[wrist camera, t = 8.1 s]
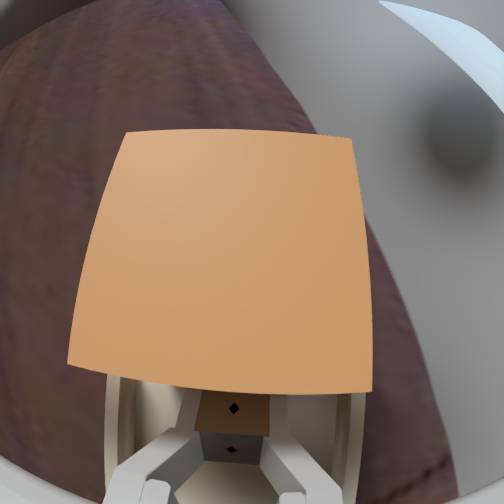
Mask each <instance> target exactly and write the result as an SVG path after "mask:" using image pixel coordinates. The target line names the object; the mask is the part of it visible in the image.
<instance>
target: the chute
mask: <svg viewBox="0 0 504 504" xmlns="http://www.w3.org/2000/svg"><path fill="white" fill-rule="evenodd" d="M186 388H187V387H179V386H172V385H165V384H159V383H153V382H147V381H141V380H136V379H130V378H125V377H120V376H115V375H111V374H107V387H106V403H105V435H104V454H105V485H106V492H107V489H108V486H109V484H110V481H111V478H112V475H113V472H114V470H115V468H116V467H117V466H119V465H120V464H121V463H123V462H124V461H126V460H127V459H128V458H130V457H131V456H133V455H134V454H135V453H137V452H138V451H139V450H141V449H142V448H143V447H145V446H146V445H147V444H149V443H150V442H151V441H153V440H154V439H155V438H157V437H158V436H159V435H161V434H162V433H163V432H164V431H166V430H167V429H168V428H170V427H172V428H175V425H176V421H177V418H178V414H179V410H180V407H181V403H182V400H183V396H184V392H185V390H186ZM286 396H287V409H288V426H289V437H294V438H295V439H296V440H297V441H298V442H299V443H300V444H301V446H302V447H303V448H304V449H305V450H306V451H307V452H308V453H309V455H310V456H311V457H312V458H313V459H314V460H315V461H316V462H317V463H318V464H319V466H320V467H321V468H322V469H323V470H324V471H325V472H326V473H327V474H328V475H329V476H330V477H331V478H332V479H333V480H334V481H335V483H336V484H337V485H338V486H339V487H340V488H341V491H342V499H343V504H355V500H356V493H357V486H358V479H359V471H360V463H361V454H362V443H363V431H364V417H365V398H366V392H361V393H344V394H311V395H290V394H286ZM174 494H175V496H176V498H177V500H178V502H179V504H277V502H278V499H279V497H280V496H279V495H278V494H277V492H276V491H275V489H274V488H273V486H272V485H271V483H270V482H269V480H268V479H267V477H266V476H265V474H264V473H263V471H262V470H261V468H260V467H259V465H251V464H238V463H226V462H213V461H204V463H203V464H202V465H201V466H200V467H199V468H198V469H197V470H196V471H195V472H194V474H193V475H192V476H191V477H190V478H189V479H188V480H187V481H186V482H185V483H184V484H183V485H182V486H181V487H180V488H179V489H178V490H177V491H176V492H175V493H174Z"/></svg>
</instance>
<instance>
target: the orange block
mask: <svg viewBox="0 0 504 504" xmlns="http://www.w3.org/2000/svg"><path fill="white" fill-rule="evenodd" d="M372 362H373V344H372V306H371V288H370V273H369V260H368V250H367V240H366V230H365V222H364V214H363V206H362V199H361V192H360V186H359V180H358V174H357V168H356V162H355V156H354V151H353V146H352V141H351V139H350V138H342V137H334V136H324V135H316V134H305V133H294V132H280V131H263V130H236V129H185V130H159V131H142V132H129V133H126V135H125V137H124V140H123V142H122V145H121V147H120V150H119V152H118V155H117V157H116V160H115V163H114V165H113V168H112V171H111V173H110V176H109V179H108V182H107V185H106V188H105V191H104V194H103V197H102V200H101V203H100V206H99V210H98V213H97V216H96V220H95V223H94V227H93V230H92V234H91V237H90V241H89V245H88V249H87V253H86V257H85V261H84V265H83V270H82V274H81V279H80V284H79V289H78V294H77V299H76V304H75V310H74V316H73V322H72V329H71V336H70V344H69V352H68V362H67V364H70V365H73V366H77V367H81V368H85V369H89V370H93V371H97V372H102V373H106V374H111V375H115V376H120V377H125V378H130V379H136V380H141V381H147V382H153V383H159V384H165V385H172V386H179V387H187V388H195V389H204V390H214V391H226V392H239V393H257V394H290V395H311V394H344V393H361V392H372Z"/></svg>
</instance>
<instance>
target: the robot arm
mask: <svg viewBox="0 0 504 504" xmlns="http://www.w3.org/2000/svg"><path fill="white" fill-rule="evenodd" d="M204 461H213V462H226V463H238V464H251V465H259V467H260V468H261V470H262V471H263V473H264V474H265V476H266V477H267V479H268V480H269V482H270V483H271V485H272V486H273V488H274V489H275V491H276V492H277V494H278V495H279V496H280V497H279V499H278V502H277V504H343V499H342V491H341V488H340V487H339V486H338V485H337V484H336V483H335V481H334V480H333V479H332V478H331V477H330V476H329V475H328V474H327V473H326V472H325V471H324V470H323V469H322V468H321V467H320V466H319V464H318V463H317V462H316V461H315V460H314V459H313V458H312V457H311V456H310V455H309V453H308V452H307V451H306V450H305V449H304V448H303V447H302V446H301V444H300V443H299V442H298V441H297V440H296V439H295V438H294V437H289V426H288V409H287V396H286V394H257V393H239V392H226V391H214V390H204V389H195V388H186V390H185V392H184V396H183V400H182V403H181V407H180V410H179V414H178V418H177V421H176V425H175V428H172V427H170V428H168V429H167V430H166V431H164V432H163V433H162V434H161V435H159V436H158V437H157V438H155V439H154V440H153V441H151V442H150V443H149V444H147V445H146V446H145V447H143V448H142V449H141V450H139V451H138V452H137V453H135V454H134V455H133V456H131V457H130V458H128V459H127V460H126V461H124V462H123V463H121V464H120V465H119V466H117V467H116V468H115V470H114V472H113V475H112V478H111V481H110V484H109V486H108V489H107V492H106V495H105V498H104V501H103V504H179V502H178V500H177V498H176V496H175V494H174V493H175V492H176V491H177V490H178V489H179V488H180V487H181V486H182V485H183V484H184V483H185V482H186V481H187V480H188V479H189V478H190V477H191V476H192V475H193V474H194V472H195V471H196V470H197V469H198V468H199V467H200V466H201V465H202V464H203V463H204ZM0 504H98V503H95V502H93V501H90V500H87V499H85V498H82V497H80V496H77V495H75V494H73V493H70V492H68V491H66V490H63V489H61V488H59V487H57V486H55V485H53V484H51V483H48V482H46V481H44V480H42V479H40V478H39V477H37V476H35V475H33V474H31V473H29V472H27V471H25V470H24V469H22V468H20V467H18V466H17V465H15V464H13V463H12V462H10V461H8V460H7V459H5V458H4V457H2V456H0ZM443 504H504V476H503V477H501V478H500V479H498V480H496V481H494V482H492V483H490V484H488V485H486V486H484V487H482V488H480V489H477V490H475V491H473V492H471V493H468V494H466V495H464V496H461V497H459V498H456V499H454V500H451V501H449V502H446V503H443Z"/></svg>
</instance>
